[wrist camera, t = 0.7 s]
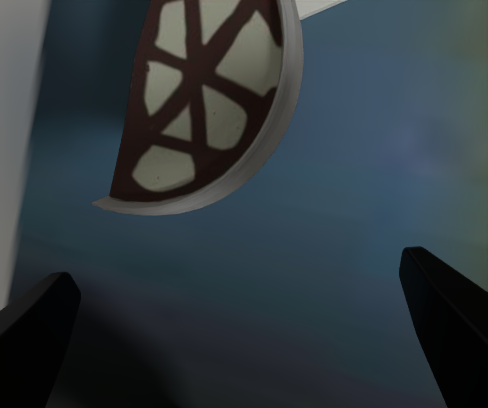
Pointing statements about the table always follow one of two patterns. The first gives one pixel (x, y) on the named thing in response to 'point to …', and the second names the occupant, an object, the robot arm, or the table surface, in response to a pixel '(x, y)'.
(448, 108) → the table surface
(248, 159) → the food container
